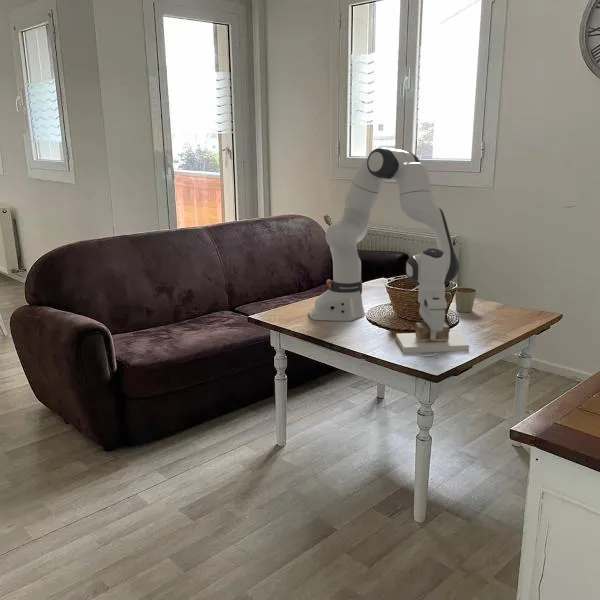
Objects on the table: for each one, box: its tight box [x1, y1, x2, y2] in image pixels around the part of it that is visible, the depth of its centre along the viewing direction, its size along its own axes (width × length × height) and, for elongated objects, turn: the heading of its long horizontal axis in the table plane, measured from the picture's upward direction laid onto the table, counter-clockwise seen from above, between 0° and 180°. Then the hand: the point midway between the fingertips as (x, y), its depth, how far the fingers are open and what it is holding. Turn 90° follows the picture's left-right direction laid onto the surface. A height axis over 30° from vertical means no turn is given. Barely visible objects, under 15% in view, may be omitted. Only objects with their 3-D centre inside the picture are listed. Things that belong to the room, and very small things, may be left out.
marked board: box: [395, 331, 470, 354], centre depth 212 cm, size 22×14×2 cm, turn 92°
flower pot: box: [454, 286, 479, 313], centre depth 248 cm, size 9×9×9 cm
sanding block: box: [415, 321, 450, 342], centre depth 211 cm, size 10×6×5 cm, turn 92°
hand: (430, 335), depth 211 cm, fingers closed on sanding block, 6 cm apart
